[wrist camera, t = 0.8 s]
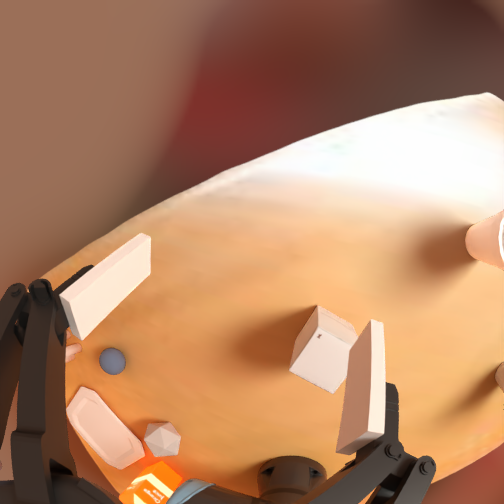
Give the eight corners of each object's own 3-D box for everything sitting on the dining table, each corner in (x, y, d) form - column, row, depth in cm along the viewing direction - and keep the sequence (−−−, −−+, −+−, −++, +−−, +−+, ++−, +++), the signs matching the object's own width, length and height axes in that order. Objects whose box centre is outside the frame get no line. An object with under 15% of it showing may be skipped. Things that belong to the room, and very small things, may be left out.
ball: (132, 371, 53) (116, 381, 48) (113, 366, 55) (97, 375, 49) (128, 346, 53) (111, 355, 47) (108, 343, 55) (91, 350, 49)
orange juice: (183, 478, 52) (148, 526, 33) (165, 484, 54) (131, 526, 34) (161, 460, 53) (121, 505, 34) (145, 466, 55) (107, 507, 35)
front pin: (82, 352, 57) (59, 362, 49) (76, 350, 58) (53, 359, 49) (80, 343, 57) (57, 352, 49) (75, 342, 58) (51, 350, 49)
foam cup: (474, 204, 37) (514, 193, 25) (501, 239, 36) (542, 237, 23) (450, 243, 39) (489, 243, 26) (478, 278, 37) (518, 286, 25)
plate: (67, 411, 62) (62, 413, 60) (90, 377, 58) (84, 380, 55) (119, 469, 58) (116, 472, 56) (155, 448, 54) (150, 452, 52)
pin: (75, 360, 58) (53, 369, 50) (70, 358, 59) (48, 367, 50) (73, 351, 58) (51, 360, 50) (68, 350, 59) (46, 358, 50)
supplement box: (294, 339, 45) (285, 370, 33) (317, 303, 44) (318, 324, 32) (330, 360, 44) (332, 395, 32) (354, 325, 43) (366, 352, 31)
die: (149, 414, 54) (134, 447, 47) (159, 413, 48) (142, 450, 41) (179, 429, 55) (166, 461, 48) (192, 429, 50) (177, 466, 43)
